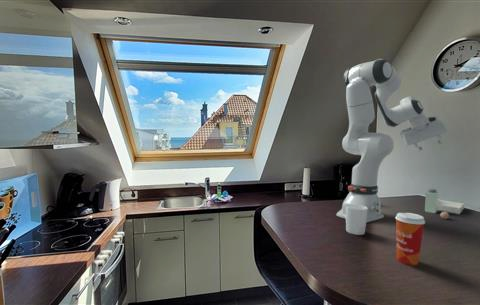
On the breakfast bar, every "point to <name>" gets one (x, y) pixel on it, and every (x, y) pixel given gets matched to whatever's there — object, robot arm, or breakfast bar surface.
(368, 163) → the robot arm
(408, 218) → the paper cup
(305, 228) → the breakfast bar surface
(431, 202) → the shaker
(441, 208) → the dish
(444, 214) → the ball
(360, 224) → the white cup
